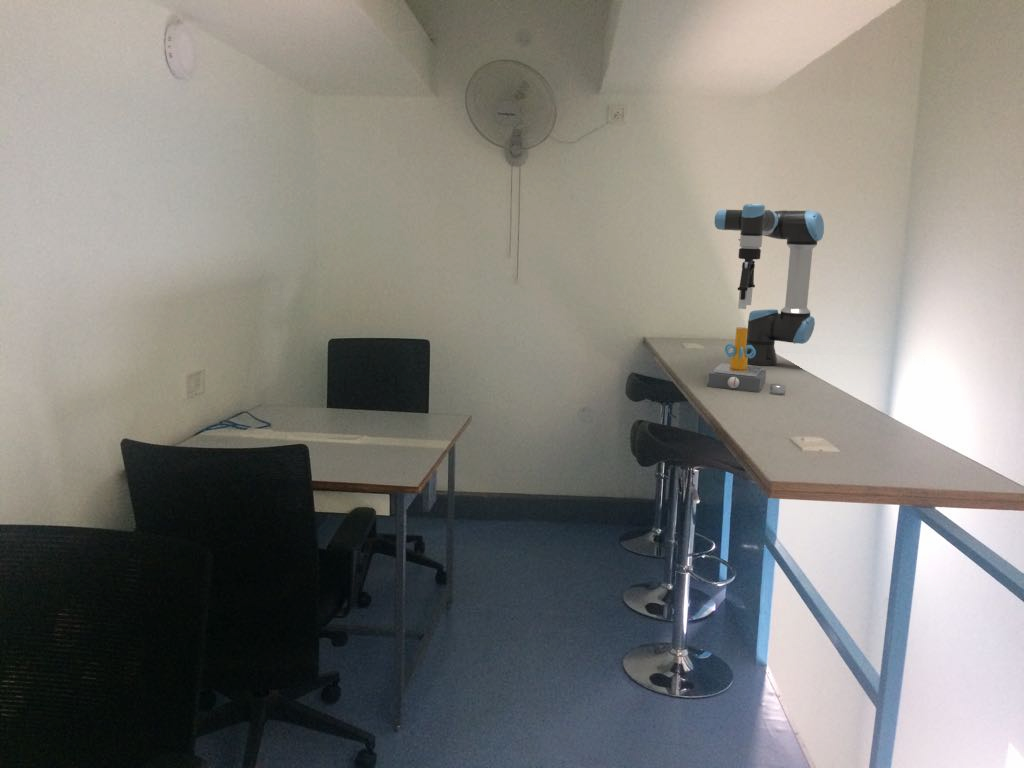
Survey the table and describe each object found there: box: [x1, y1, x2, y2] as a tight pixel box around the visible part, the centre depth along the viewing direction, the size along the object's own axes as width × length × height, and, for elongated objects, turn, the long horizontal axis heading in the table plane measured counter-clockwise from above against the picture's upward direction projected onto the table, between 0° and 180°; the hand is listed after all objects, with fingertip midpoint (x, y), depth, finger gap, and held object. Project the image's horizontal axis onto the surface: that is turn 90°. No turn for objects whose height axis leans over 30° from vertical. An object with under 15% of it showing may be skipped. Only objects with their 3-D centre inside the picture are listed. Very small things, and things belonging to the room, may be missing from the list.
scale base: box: [707, 364, 767, 393], centre depth 277 cm, size 19×18×5 cm
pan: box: [713, 362, 763, 377], centre depth 277 cm, size 15×15×5 cm
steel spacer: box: [769, 383, 787, 396], centre depth 265 cm, size 5×5×3 cm
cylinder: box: [724, 326, 756, 370], centre depth 274 cm, size 12×10×15 cm
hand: (744, 306), depth 274 cm, fingers open, 13 cm apart
